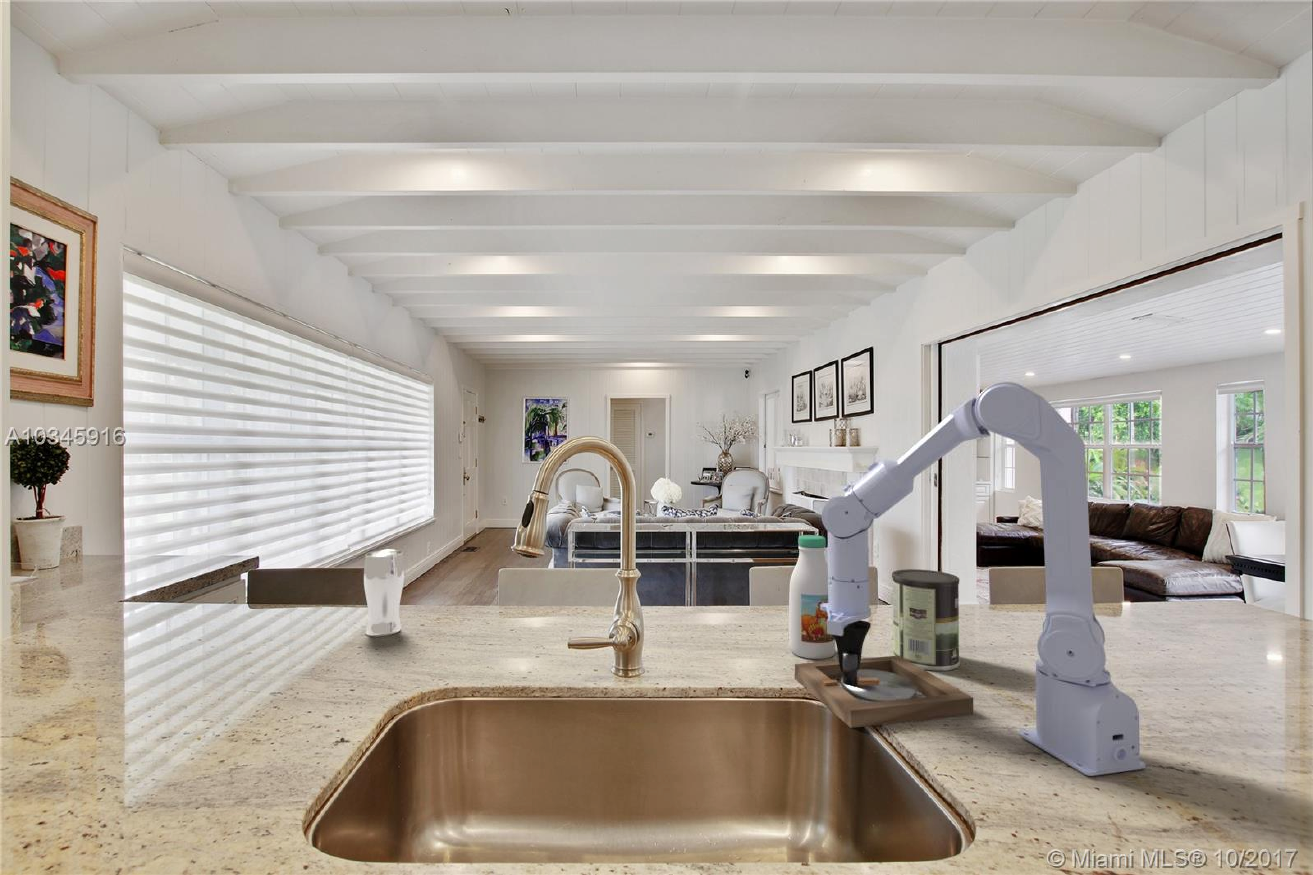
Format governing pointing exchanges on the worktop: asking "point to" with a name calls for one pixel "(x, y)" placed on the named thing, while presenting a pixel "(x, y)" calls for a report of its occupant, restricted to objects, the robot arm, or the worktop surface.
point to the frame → (936, 704)
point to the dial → (873, 683)
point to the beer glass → (383, 591)
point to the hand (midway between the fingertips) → (849, 671)
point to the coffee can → (926, 618)
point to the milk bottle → (810, 601)
